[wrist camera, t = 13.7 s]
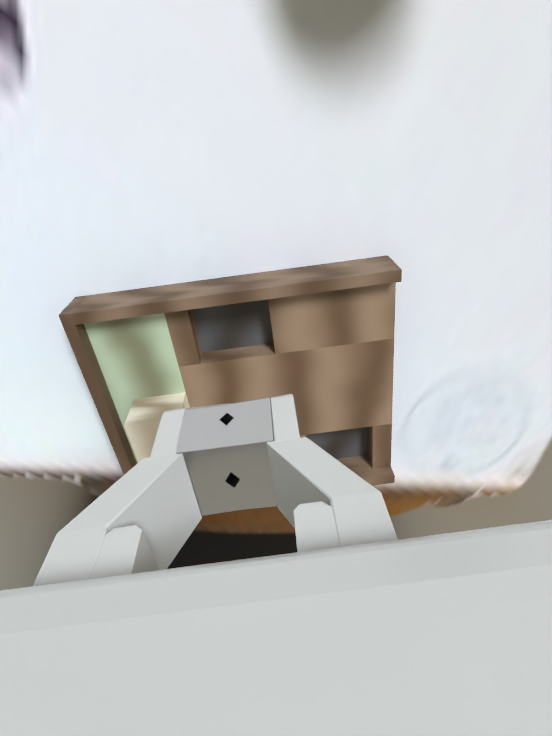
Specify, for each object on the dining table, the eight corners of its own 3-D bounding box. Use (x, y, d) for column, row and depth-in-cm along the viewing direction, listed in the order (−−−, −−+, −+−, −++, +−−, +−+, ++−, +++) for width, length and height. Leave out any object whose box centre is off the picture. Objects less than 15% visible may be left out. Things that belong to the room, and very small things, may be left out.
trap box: (147, 487, 51) (140, 515, 47) (75, 297, 38) (58, 315, 35) (384, 457, 50) (394, 482, 47) (387, 255, 38) (401, 269, 35)
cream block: (148, 439, 44) (139, 466, 40) (133, 399, 41) (123, 425, 38) (196, 432, 44) (192, 459, 40) (185, 392, 41) (179, 417, 38)
